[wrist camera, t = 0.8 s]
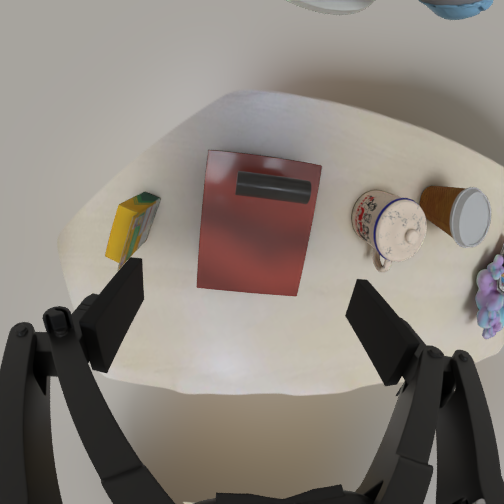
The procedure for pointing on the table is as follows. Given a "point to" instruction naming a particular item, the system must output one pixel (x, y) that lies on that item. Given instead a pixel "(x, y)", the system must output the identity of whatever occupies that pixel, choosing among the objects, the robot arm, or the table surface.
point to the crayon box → (131, 226)
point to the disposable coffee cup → (458, 212)
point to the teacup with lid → (389, 226)
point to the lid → (255, 222)
